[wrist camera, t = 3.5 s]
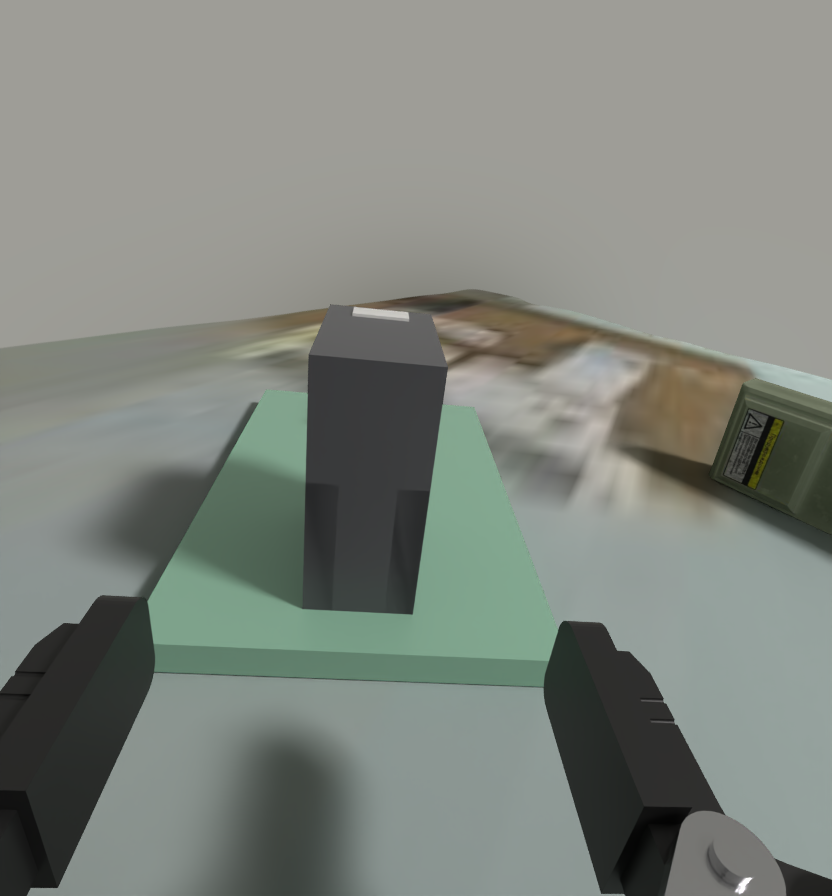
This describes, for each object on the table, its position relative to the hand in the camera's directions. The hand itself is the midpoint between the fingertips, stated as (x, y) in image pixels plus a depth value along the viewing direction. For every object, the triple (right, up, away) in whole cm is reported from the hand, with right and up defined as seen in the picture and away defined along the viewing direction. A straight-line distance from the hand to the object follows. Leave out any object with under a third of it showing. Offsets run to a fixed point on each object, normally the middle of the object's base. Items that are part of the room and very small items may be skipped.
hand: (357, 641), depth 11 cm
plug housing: (-1, 0, +11) cm, 11 cm away
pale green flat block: (-1, +1, +17) cm, 17 cm away
